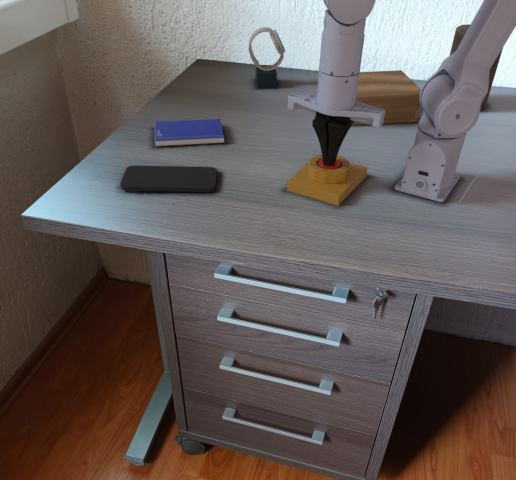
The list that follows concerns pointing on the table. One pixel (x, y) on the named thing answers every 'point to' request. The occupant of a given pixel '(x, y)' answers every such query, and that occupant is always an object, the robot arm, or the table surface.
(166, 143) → the blue hardcover book
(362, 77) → the lid
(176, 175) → the phone
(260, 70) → the watch
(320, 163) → the button
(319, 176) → the button block
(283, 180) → the table surface
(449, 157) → the robot arm
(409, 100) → the chest
